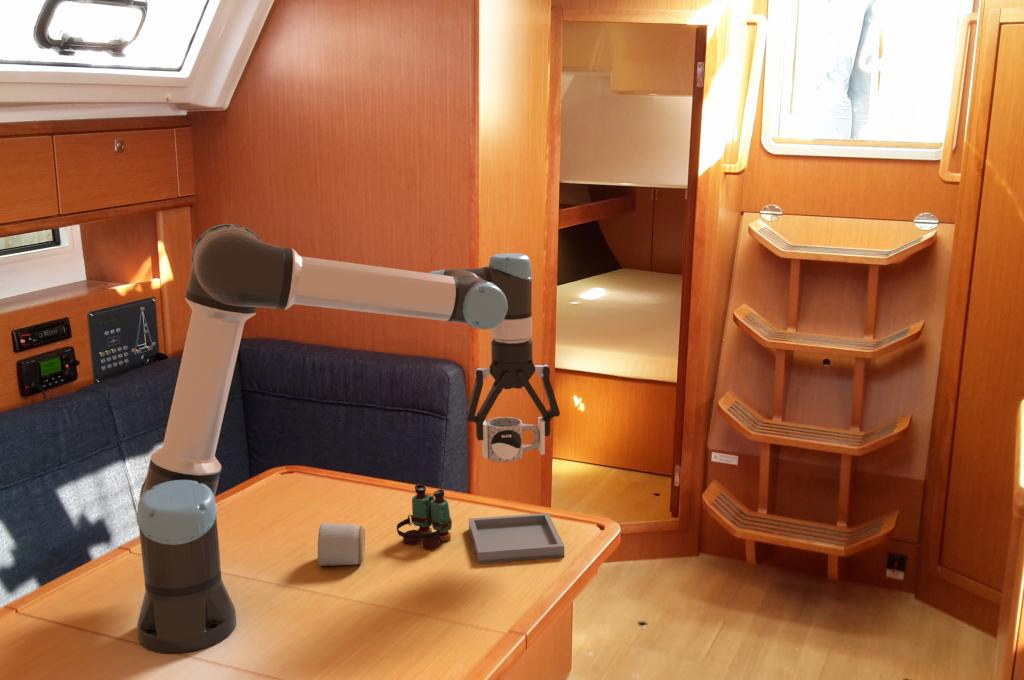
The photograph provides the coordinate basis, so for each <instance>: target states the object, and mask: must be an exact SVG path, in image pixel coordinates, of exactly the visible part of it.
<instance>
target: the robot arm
mask: <svg viewBox="0 0 1024 680" xmlns="http://www.w3.org/2000/svg"><path fill="white" fill-rule="evenodd" d="M191 263H192V264H191V270H190V274H189V279H188V283H187V287H186V293H185V296H184V297H185V298H184V299H185V301H186V302H187V304H188V305H189V307H190V310H191V316H190V319H189V320H190V321H189V323H188V324H189V325H188V330H187V334H186V339H185V343H184V348H183V352H182V356H181V360H180V361H181V362H180V365H179V366H180V367H179V371H178V374H177V379H176V385H175V388H174V389H175V390H174V395H173V399H172V403H171V405H170V406H171V407H170V410H169V411H170V412H169V416H168V421H167V425H166V429H165V435H164V440H163V445H162V447H160V448H159V449H157V450H156V451H154V452H152V454H151V455H150V459H149V464H148V469H147V472H146V473H147V474H146V477H145V478H144V481H143V483H142V485H141V487H140V493H139V499H138V503H137V512H136V522H137V526H138V529H139V531H138V532H139V538H140V551H141V558H142V560H141V561H142V568H143V577H144V578H143V579H144V590H145V592H144V595H143V600H142V604H141V607H140V611H139V616H138V621H137V625H136V626H137V627H136V628H137V638H138V641H139V643H140V644H141V646H142V647H144V648H146V649H147V650H150V651H154V652H156V653H157V652H158V653H163V654H166V653H167V654H180V653H188V652H193V651H198V650H202V649H204V648H207V647H211V646H213V645H215V644H217V643H219V642H221V641H223V640H225V639H226V638H227V637H229V636H230V635H231V634H232V633H233V631H235V628H236V627H237V614H236V613H237V612H236V608H235V605H234V603H233V601H232V598H231V596H230V593H229V592H228V589H227V587H226V586H225V585H226V584H225V583H224V581H223V578H222V569H221V556H220V555H221V553H220V544H219V543H220V541H219V531H218V530H219V529H218V522H217V521H218V520H217V515H218V505H217V501H216V499H215V498H216V493H217V489H218V485H219V479H220V475H221V471H222V464H221V463H220V461H219V460H218V459H217V457H216V451H217V448H218V447H217V446H218V444H219V442H218V441H219V439H220V433H221V429H222V424H223V420H224V415H225V411H226V408H227V407H226V406H227V402H228V399H229V393H230V389H231V385H232V380H233V375H234V371H235V367H236V363H237V358H238V354H239V350H240V344H241V341H242V335H243V330H244V327H245V326H244V325H245V322H247V321H248V320H249V319H251V318H252V317H253V316H256V314H257V311H258V308H264V309H274V310H277V309H278V310H288V309H289V308H291V307H292V306H294V305H299V306H300V305H301V306H308V307H317V308H318V307H319V308H325V309H326V308H327V309H335V310H343V311H344V310H345V311H353V312H354V311H355V312H363V313H372V314H380V315H381V314H382V315H388V316H389V315H390V316H398V317H408V318H415V319H417V318H418V319H424V320H433V321H444V322H450V323H456V324H464V325H470V327H473V328H474V329H480V330H490V331H491V333H490V334H491V335H490V336H491V337H492V340H491V342H490V343H491V344H490V346H491V347H490V348H491V350H490V351H491V363H490V365H489V367H484V368H480V366H479V367H475V368H474V379H475V380H474V383H473V386H472V389H471V390H472V391H471V393H470V397H469V401H468V405H467V409H466V413H465V417H466V420H467V421H468V422H470V423H472V422H473V423H475V434H476V439H477V441H481V448H482V449H481V452H482V453H481V454H482V456H483V457H482V458H483V459H488V430H487V423H486V422H487V421H486V418H487V417H488V415H489V413H490V411H491V410H492V408H493V406H494V404H495V402H496V400H497V399H498V397H499V395H500V394H502V391H503V389H504V390H512V389H519V390H520V389H523V388H524V389H525V390H526V392H527V393H528V395H529V397H530V399H532V401H533V403H534V405H535V406H536V408H537V410H539V412H540V414H541V416H538V417H537V422H538V424H537V426H538V429H539V445H538V447H537V448H538V452H539V455H541V456H543V455H546V451H545V449H546V446H545V445H546V442H545V441H546V440H545V439H546V437H549V436H550V435H551V421H552V419H553V418H555V417H556V418H557V417H560V415H561V412H560V408H559V406H558V403H557V399H556V395H555V392H554V389H553V386H552V382H551V379H550V376H551V373H550V372H551V369H550V367H549V365H548V364H547V363H543V364H539V365H537V364H536V365H535V364H534V361H533V340H532V339H531V337H532V336H533V311H532V310H533V309H532V307H533V305H532V304H533V303H532V301H533V300H532V299H533V294H532V293H533V287H532V286H533V275H532V272H533V271H532V264H531V263H532V262H531V259H530V257H529V256H528V255H526V254H524V253H518V252H516V253H515V252H508V253H507V252H506V253H505V252H504V253H495V254H491V256H490V258H489V263H488V265H487V266H484V267H471V268H454V269H447V268H443V269H439V270H432V271H428V272H422V271H415V270H414V271H413V270H407V269H401V268H399V269H398V268H391V267H384V266H377V265H376V266H375V265H370V264H369V265H367V264H362V263H354V262H347V261H339V260H331V259H323V258H317V257H309V256H301V255H300V254H298V252H297V251H296V250H295V249H294V248H292V247H285V246H284V247H282V246H278V245H274V244H270V243H268V242H264V241H262V239H260V237H259V236H258V234H256V233H255V232H254V231H253V230H251V229H249V228H248V227H244V226H241V225H239V224H232V223H224V224H219V225H215V226H213V227H210V228H209V229H207V230H206V231H204V232H203V233H202V234H201V235H200V236H199V238H198V239H197V240H196V241H195V243H194V246H193V248H192V252H191ZM535 373H537V376H538V377H539V378H540V379H541V382H542V385H543V388H544V392H545V395H546V398H547V401H548V404H549V407H550V408H549V409H548V410H547V408H546V407H545V405H544V404H543V402H542V400H541V399H540V397H539V395H538V394H537V393H536V392H537V391H535V389H534V387H533V386H532V385H531V383H530V379H531V378H532V376H533V375H534V374H535ZM489 375H491V377H492V378H493V379H494V382H493V384H492V385H491V389H490V390H489V391H488V394H487V395H486V397H485V399H484V401H483V403H482V404H481V406H480V409H478V405H479V401H480V398H481V393H482V392H483V387H484V381H486V380H487V379H488V376H489ZM477 409H478V412H477V413H476V411H477Z"/></svg>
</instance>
